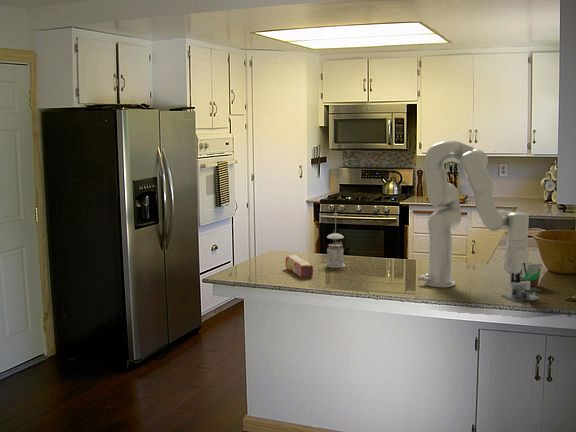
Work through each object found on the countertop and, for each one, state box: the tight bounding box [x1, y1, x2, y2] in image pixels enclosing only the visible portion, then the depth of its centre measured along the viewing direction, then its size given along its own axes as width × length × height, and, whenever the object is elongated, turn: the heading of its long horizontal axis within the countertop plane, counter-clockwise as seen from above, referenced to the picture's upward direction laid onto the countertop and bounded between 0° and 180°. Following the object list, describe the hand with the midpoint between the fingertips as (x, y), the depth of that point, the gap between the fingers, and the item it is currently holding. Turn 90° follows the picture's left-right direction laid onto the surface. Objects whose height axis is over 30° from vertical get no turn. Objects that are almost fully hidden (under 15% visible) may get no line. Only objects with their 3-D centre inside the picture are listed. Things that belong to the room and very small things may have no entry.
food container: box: [520, 262, 544, 289], centre depth 296 cm, size 12×6×10 cm, turn 69°
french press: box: [324, 212, 346, 268], centre depth 334 cm, size 10×12×25 cm
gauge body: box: [501, 291, 540, 303], centre depth 278 cm, size 11×9×3 cm
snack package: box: [285, 254, 314, 279], centre depth 320 cm, size 21×7×7 cm, turn 18°
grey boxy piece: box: [509, 281, 541, 301], centre depth 275 cm, size 10×9×5 cm
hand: (515, 289), depth 282 cm, fingers closed
